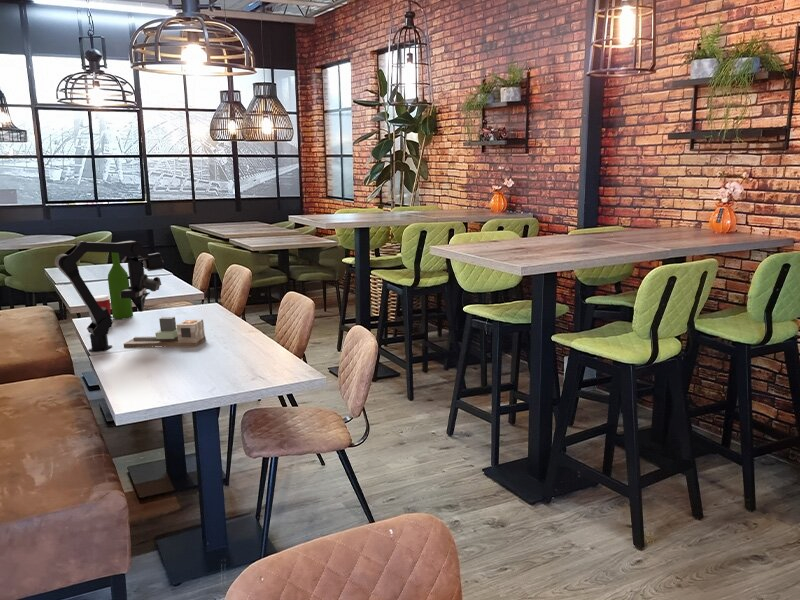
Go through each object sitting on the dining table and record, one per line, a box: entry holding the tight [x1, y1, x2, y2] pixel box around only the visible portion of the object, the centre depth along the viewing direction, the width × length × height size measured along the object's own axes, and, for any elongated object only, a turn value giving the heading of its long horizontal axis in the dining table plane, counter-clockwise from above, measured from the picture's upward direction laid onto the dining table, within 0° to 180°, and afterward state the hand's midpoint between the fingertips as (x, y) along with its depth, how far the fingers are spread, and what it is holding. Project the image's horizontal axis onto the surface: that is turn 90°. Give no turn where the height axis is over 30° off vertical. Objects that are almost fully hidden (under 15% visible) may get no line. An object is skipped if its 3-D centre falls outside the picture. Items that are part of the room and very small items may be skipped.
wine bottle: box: [107, 253, 134, 320], centre depth 312 cm, size 9×9×32 cm
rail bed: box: [123, 318, 207, 348], centre depth 263 cm, size 10×29×8 cm, turn 84°
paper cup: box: [93, 294, 112, 316], centre depth 294 cm, size 8×8×14 cm
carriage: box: [155, 316, 178, 339], centre depth 262 cm, size 8×7×7 cm
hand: (141, 311), depth 268 cm, fingers closed
